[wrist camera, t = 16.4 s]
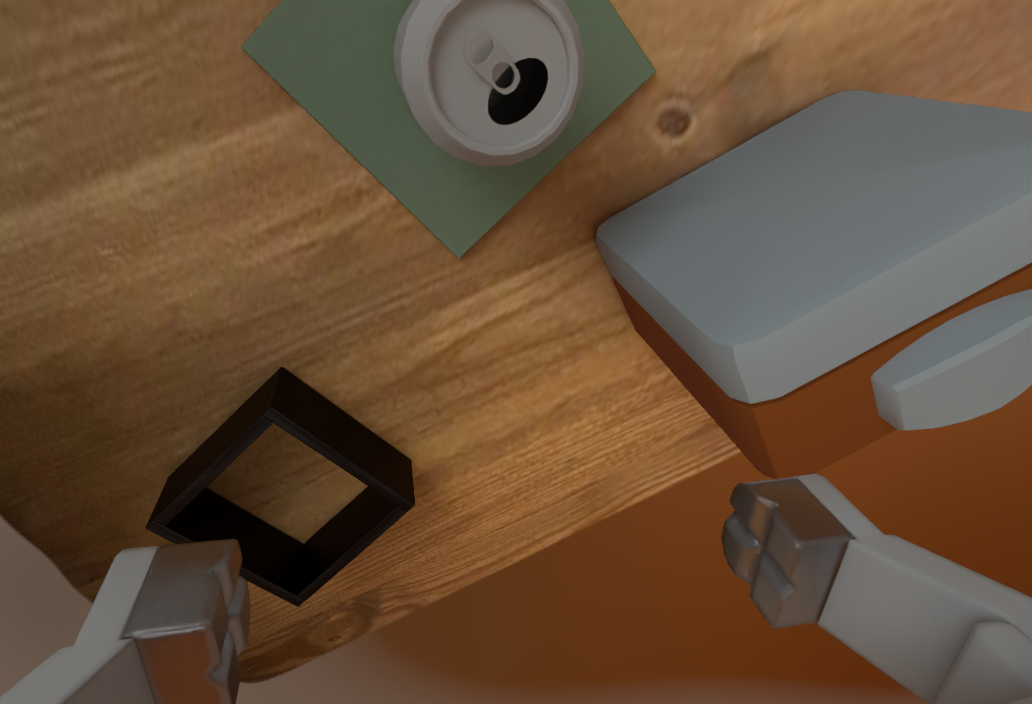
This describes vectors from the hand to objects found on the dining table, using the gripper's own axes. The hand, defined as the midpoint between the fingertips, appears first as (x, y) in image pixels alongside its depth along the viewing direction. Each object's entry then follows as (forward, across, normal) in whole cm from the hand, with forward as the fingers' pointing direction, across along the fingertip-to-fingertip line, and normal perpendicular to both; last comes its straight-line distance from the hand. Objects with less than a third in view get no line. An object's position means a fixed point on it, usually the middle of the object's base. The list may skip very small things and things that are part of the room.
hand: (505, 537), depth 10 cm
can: (+30, -3, -6) cm, 31 cm away
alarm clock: (+30, -22, +3) cm, 37 cm away
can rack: (+30, +8, +21) cm, 38 cm away
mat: (+30, -3, -6) cm, 31 cm away
